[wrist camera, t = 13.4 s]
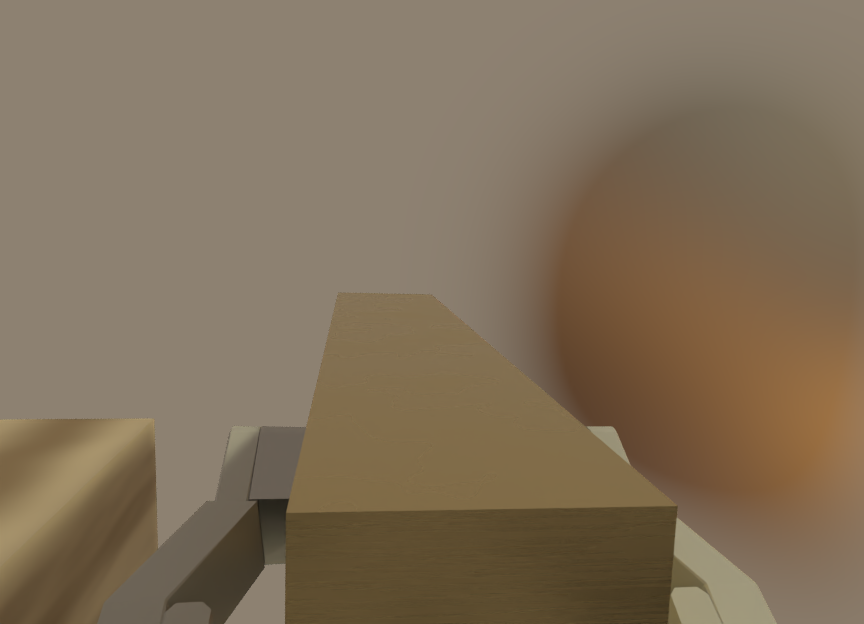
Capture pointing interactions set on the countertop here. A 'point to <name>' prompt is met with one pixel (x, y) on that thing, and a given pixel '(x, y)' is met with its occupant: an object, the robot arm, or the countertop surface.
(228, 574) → the robot arm
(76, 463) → the birch stand
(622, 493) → the tan wooden bar
